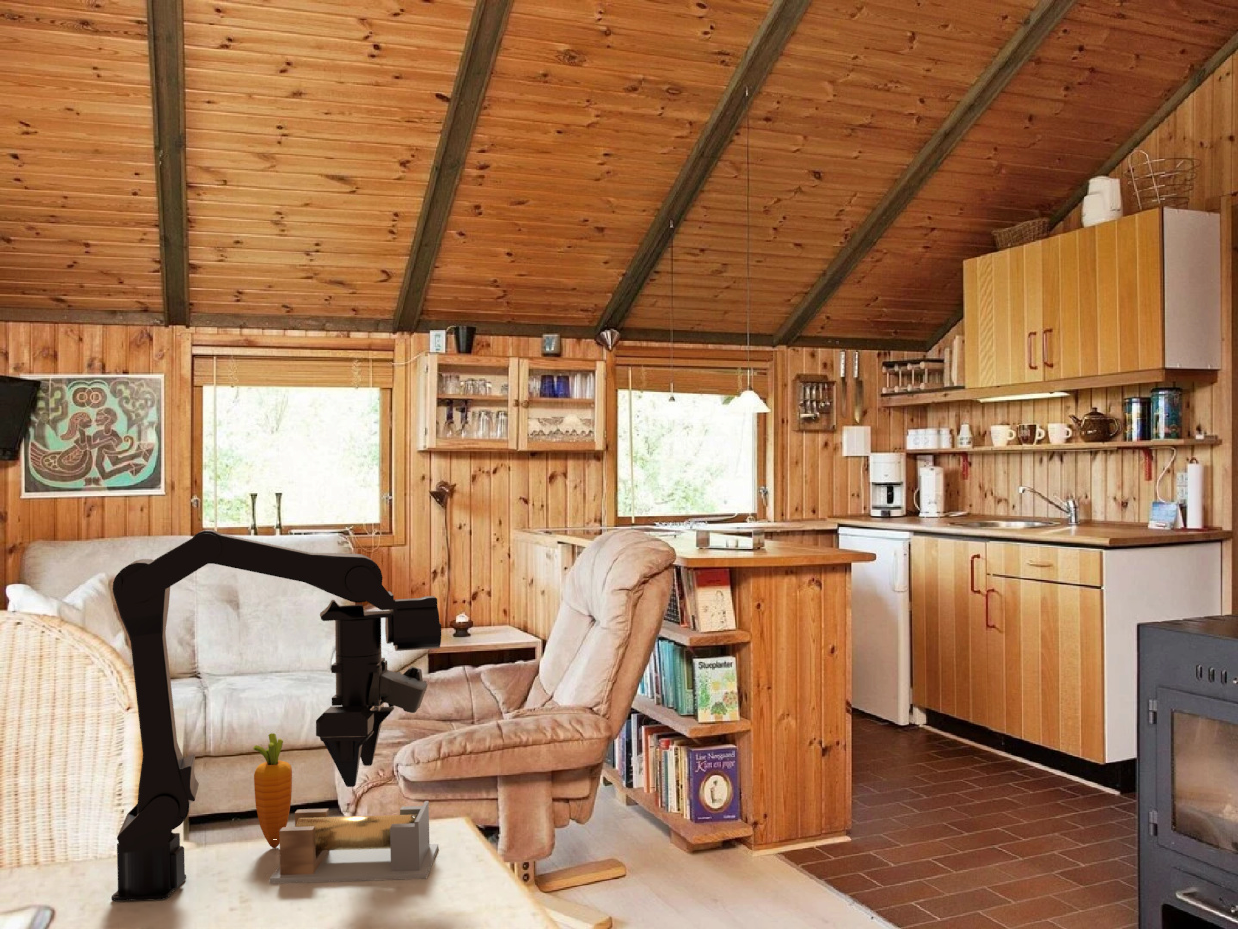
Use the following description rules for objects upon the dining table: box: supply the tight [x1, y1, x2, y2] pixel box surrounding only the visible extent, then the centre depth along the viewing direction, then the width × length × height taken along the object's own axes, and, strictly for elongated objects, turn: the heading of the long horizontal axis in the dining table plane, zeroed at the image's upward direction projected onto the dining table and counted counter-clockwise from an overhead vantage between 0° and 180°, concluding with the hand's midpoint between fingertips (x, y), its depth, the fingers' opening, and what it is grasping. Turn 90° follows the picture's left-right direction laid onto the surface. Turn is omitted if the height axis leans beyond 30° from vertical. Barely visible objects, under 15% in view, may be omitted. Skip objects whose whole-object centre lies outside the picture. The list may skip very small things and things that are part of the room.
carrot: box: [253, 732, 293, 849], centre depth 139 cm, size 5×5×15 cm
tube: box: [296, 814, 418, 851], centre depth 132 cm, size 15×4×4 cm, turn 92°
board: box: [269, 843, 439, 884], centre depth 132 cm, size 19×10×1 cm, turn 92°
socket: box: [390, 800, 430, 871], centre depth 132 cm, size 4×8×6 cm, turn 1°
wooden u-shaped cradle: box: [279, 808, 330, 875], centre depth 132 cm, size 4×8×5 cm, turn 2°
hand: (359, 775), depth 133 cm, fingers open, 9 cm apart
